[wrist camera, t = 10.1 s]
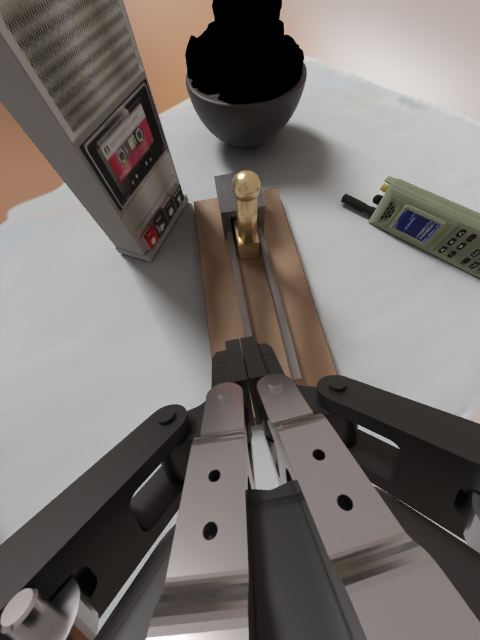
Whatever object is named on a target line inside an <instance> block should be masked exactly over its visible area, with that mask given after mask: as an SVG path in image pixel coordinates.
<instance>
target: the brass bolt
mask: <svg viewBox="0 0 480 640" xmlns="http://www.w3.org/2000/svg"><path fill="white" fill-rule="evenodd" d="M260 189H261V183H260V179H259V177H258V175H257V174H256V173H255V172H253V171H251V170H247V169H246V170H241V171H240V172H238V173H237V174H236V175H235V177H234V179H233V181H232V191H233V194H234V196H235V198H236V211H237V216H236V217H231V219H232V224H233V229H234V234H235V239H236V244H237V249H238V254H239V259H240V260H242V259H248V258H255V257H259V239H258V235H257V199H258V195H259V193H260Z"/></svg>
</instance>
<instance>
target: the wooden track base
mask: <svg viewBox="0 0 480 640" xmlns="http://www.w3.org/2000/svg"><path fill="white" fill-rule="evenodd" d="M262 194H263V198H264V202H265V205H266V208H265V225H264V233H263V229H262V226H257V235H258V239H259V257H255V258H248V259H242V260H240V259H239V254H238V249H237V244H236V239H235V234H234V229H233V224H232V219H231V217H230V219H231V228H232V231H226V233H227V239H226V240H225V238H224V232H223V227H222V221H221V215H220V209H219V203H218V198H214V199H208V200H202V201H195V202H194V209H195V218H196V226H197V235H198V244H199V252H200V261H201V270H202V278H203V287H204V296H205V304H206V313H207V322H208V330H209V339H210V348H211V356H212V358H213V356H214V355H215V353H216V352H219V351H224V350H226V346H225V341H227V340H232V339H238V338H239V342H240V338H243V337H249V336H254V338H255V340H256V343H257V344H263V343H266V344H268V345H269V346H271V347H272V348H273V351H274V353H275V355H276V357H277V359H278V361H279V363H280V365H281V367H282V370H283V372H284V374H285V375H286V376H288V377H290V378H291V379H292V381H293V382H294V384H297V385H301V386H314V387H317V383H318V381H319V380H320V379H321V378H323V377H325V376H329V375H337V373H336V370H335V367H334V364H333V361H332V358H331V355H330V351H329V348H328V345H327V342H326V339H325V336H324V333H323V330H322V327H321V324H320V321H319V317H318V314H317V311H316V308H315V305H314V302H313V299H312V296H311V293H310V290H309V287H308V283H307V280H306V277H305V274H304V271H303V268H302V265H301V262H300V259H299V256H298V253H297V249H296V246H295V243H294V240H293V237H292V234H291V231H290V228H289V225H288V222H287V219H286V215H285V212H284V209H283V206H282V203H281V200H280V197H279V194H278V191H277V189H271V190H265V191H262ZM240 346H241V342H240ZM241 351H242V348H241ZM242 356H243V354H242ZM243 360H244V359H243ZM249 391H250V390H249ZM250 397H251V395H250ZM251 403H252V400H251ZM252 409H253V404H252ZM253 415H254V417H255V414H254V409H253Z"/></svg>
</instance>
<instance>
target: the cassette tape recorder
mask: <svg viewBox="0 0 480 640" xmlns="http://www.w3.org/2000/svg"><path fill="white" fill-rule="evenodd" d="M0 101H1V102H2V104H3V105H4V106H5V107H6V109H7V110H8V111H9V112H10V114H11V115H12V116H13V118H14V119H15V120H16V121H17V123H18V124H19V125H20V126H21V128H22V129H23V130H24V131H25V133H26V134H27V135H28V136H29V138H30V139H31V140H32V142H33V143H34V144H35V145H36V147H37V148H38V149H39V150H40V152H41V153H42V154H43V155H44V157H45V158H46V159H47V160H48V162H49V163H50V164H51V165H52V167H53V168H54V169H55V170H56V172H57V173H58V174H59V175H60V177H61V178H62V179H63V181H64V182H65V183H66V184H67V186H68V187H69V188H70V189H71V191H72V192H73V193H74V194H75V196H76V197H77V198H78V199H79V201H80V202H81V203H82V205H83V206H84V207H85V208H86V210H87V211H88V212H89V213H90V215H91V216H92V217H93V218H94V220H95V221H96V222H97V223H98V225H99V226H100V227H101V228H102V230H103V231H104V232H105V234H106V235H107V236H108V237H109V239H110V240H111V241H112V242H113V244H114V245H115V246H116V249H117V251H118V252H119V253H122V254H125V255H129V256H132V257H136V258H139V259H142V260H146V261H149V262H151V261H152V259H153V258H154V256H155V254H156V253H157V251H158V249H159V248H160V246H161V244H162V243H163V241H164V240H165V238H166V236H167V235H168V233H169V231H170V230H171V228H172V226H173V225H174V223H175V222H176V220H177V218H178V217H179V215H180V213H181V212H182V210H183V208H184V207H185V205H186V204H187V202H188V198H187V195H184V194H183V193H182V190H181V186H180V183H179V180H178V177H177V174H176V170H175V167H174V164H173V161H172V157H171V154H170V151H169V148H168V145H167V141H166V138H165V135H164V132H163V128H162V125H161V122H160V119H159V116H158V112H157V109H156V106H155V103H154V99H153V97H152V93H151V90H150V87H149V84H148V80H147V77H146V74H145V70H144V67H143V64H142V61H141V57H140V54H139V51H138V48H137V45H136V41H135V38H134V35H133V32H132V28H131V25H130V22H129V19H128V16H127V12H126V9H125V6H124V3H123V0H0Z"/></svg>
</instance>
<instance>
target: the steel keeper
mask: <svg viewBox="0 0 480 640" xmlns="http://www.w3.org/2000/svg"><path fill="white" fill-rule="evenodd" d="M252 171H253V172H255V173H256V170H252ZM236 174H237V173H232V174H226V175H220V176H214V178H215V184H216V191H217V197H218V203H219V209H220V215H221V221H222V227H223V232H224V238H225V240H226V239H227V233H226V231H232V228H231V219H230V217H236V216H237V211H236V198H235V196H234V194H233V191H232V181H233V179H234V177H235V175H236ZM256 174H257V173H256ZM265 208H266V205H265V202H264V198H263V194H262V191H261V189H260V193H259V195H258V199H257V226H262V229H263V233H264V225H265Z"/></svg>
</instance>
